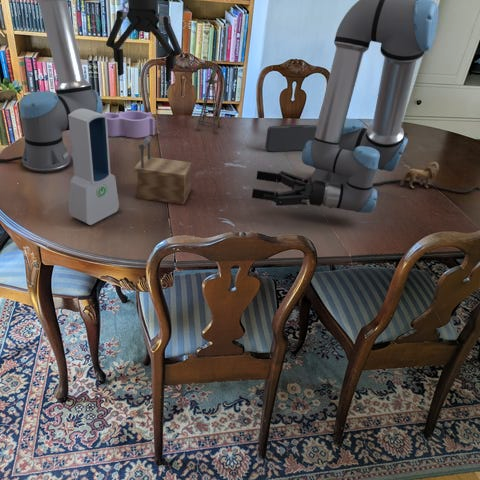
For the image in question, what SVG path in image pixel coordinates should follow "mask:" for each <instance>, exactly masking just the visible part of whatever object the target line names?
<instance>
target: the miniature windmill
mask: <svg viewBox="0 0 480 480" xmlns="http://www.w3.org/2000/svg"><path fill="white" fill-rule="evenodd" d="M218 62H219V61H218V59H217V58H215V61H214V63H212V65H211V66H210V65H208V64H205V63H201V70H211V72H210V77H209V78H208V79H207V80H205V83H208V85H207V87H206V91H205V95H204V96H205V97H204V98H203V103H202V108H201V110H200V114H199V120H197V122H198V124H197V127H196V130H197V131H199V129H200V124H201V125H204V123H205V124H211V125H213V133H217V132H216V131H217V129H216V128H217V127H216V125H217V126H218V128H220V127H221V124H220V123H221V122H220V119H221V118H220V116H219V115H220V114H219V109H218V108H219V107H218V101H217V97H218V96H217V93H216V85H215V84H218V82H219V80H218V79H216V77H217V73H218V72H217V71H218ZM210 90H211V92H212V93H211V94H212V95H209V94H210ZM208 100H209V101H212V105H210V104H209V105H208ZM207 107H210V108H212V109H207ZM207 111H208V112H213V113H212V114H213V115H212V116H207V115H206V112H207ZM215 112H216V113H215ZM205 118H208V119H213V122H209V121H205Z"/></svg>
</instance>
